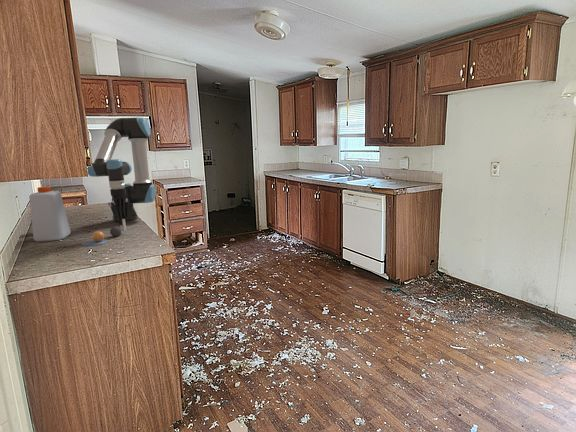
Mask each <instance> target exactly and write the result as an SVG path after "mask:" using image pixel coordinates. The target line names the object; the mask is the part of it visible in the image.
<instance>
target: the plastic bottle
mask: <svg viewBox="0 0 576 432" xmlns="http://www.w3.org/2000/svg"><path fill="white" fill-rule="evenodd" d="M36 190H37V192H33V193H31V194H30V195H29V196H28V198H29V208H30V215H31V216H30V217H31V226H32V235H33V236H32V237H33V241H35V242H39V243H40V242H41V243H42V242H52V241H54V242H55V241H60V240H63V239H66V238H67V237H68V236H69V235H71V234H72V233H71V232H72V231H71V227H70V224H69V221H68V220H69V219H68V216H67V213H66V209H65V203H64V201H63V196H62V193H61V191H59V190H52V186H49V185H48V186H39V187H37V189H36Z"/></svg>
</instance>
